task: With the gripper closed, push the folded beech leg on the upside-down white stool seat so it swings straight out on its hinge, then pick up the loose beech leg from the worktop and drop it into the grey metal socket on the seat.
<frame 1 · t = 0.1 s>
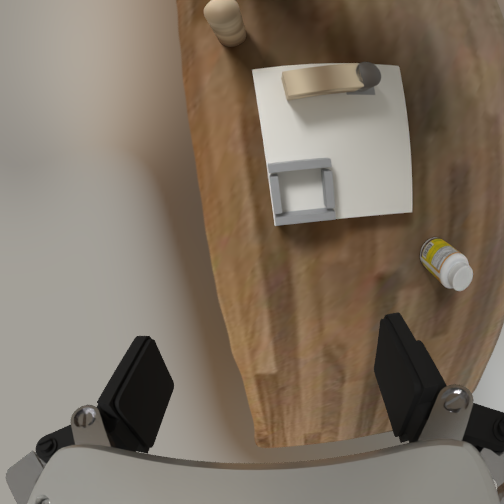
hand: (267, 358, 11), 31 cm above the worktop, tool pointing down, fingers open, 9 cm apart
loose leg: (232, 35, 31), on the worktop
supplement bottle: (431, 251, 41), on the worktop
folding leg: (331, 80, 28), point 5 cm above the worktop, hinge at -85.0°
stool seat: (336, 139, 36), on the worktop
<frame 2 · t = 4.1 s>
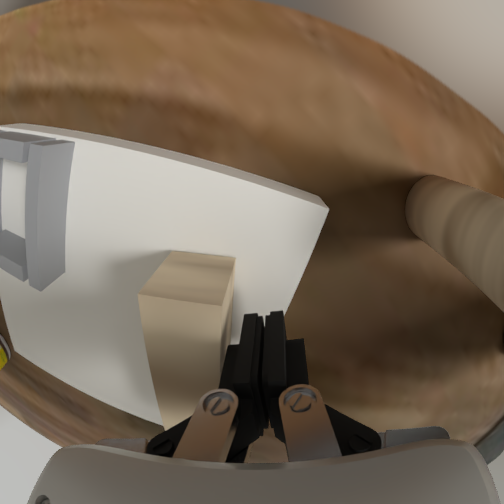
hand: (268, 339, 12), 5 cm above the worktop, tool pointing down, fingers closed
loose leg: (432, 208, 14), on the worktop
folding leg: (195, 374, 13), point 5 cm above the worktop, hinge at -77.5°, touching gripper
stool seat: (114, 290, 18), on the worktop
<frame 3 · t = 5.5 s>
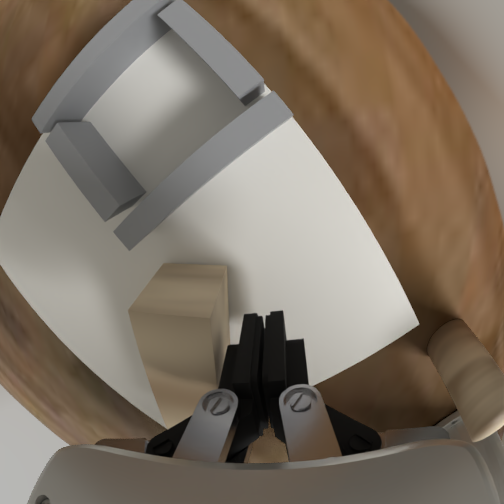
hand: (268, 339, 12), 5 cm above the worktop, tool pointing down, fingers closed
loose leg: (447, 339, 18), on the worktop
folding leg: (197, 383, 13), point 5 cm above the worktop, hinge at -38.6°, touching gripper
stool seat: (172, 264, 16), on the worktop
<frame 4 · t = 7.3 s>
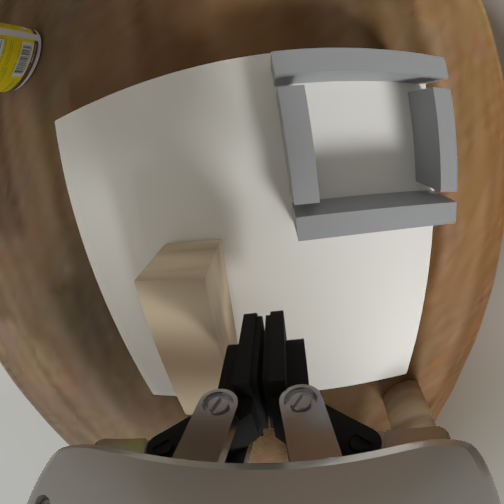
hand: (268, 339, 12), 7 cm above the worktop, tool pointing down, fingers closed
loose leg: (401, 392, 23), on the worktop
supplement bottle: (24, 60, 12), on the worktop
folding leg: (204, 354, 15), point 5 cm above the worktop, hinge at -3.4°
stool seat: (258, 246, 18), on the worktop
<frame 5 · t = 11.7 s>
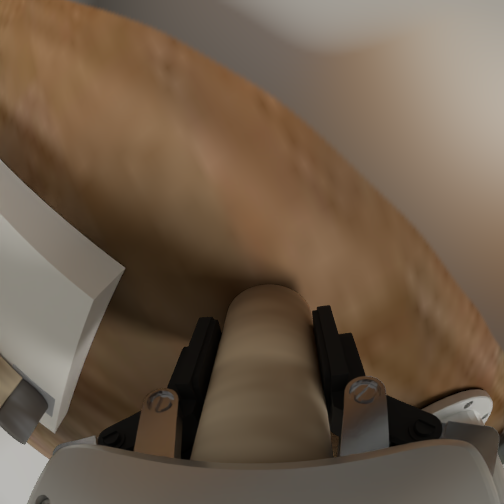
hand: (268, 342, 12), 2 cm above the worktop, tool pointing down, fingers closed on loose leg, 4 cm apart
loose leg: (269, 321, 13), on the worktop, touching gripper
when the fingers open (6 cm above the worktop, at t = 17.5 s): loose leg drops 1 cm, resting on stool seat.
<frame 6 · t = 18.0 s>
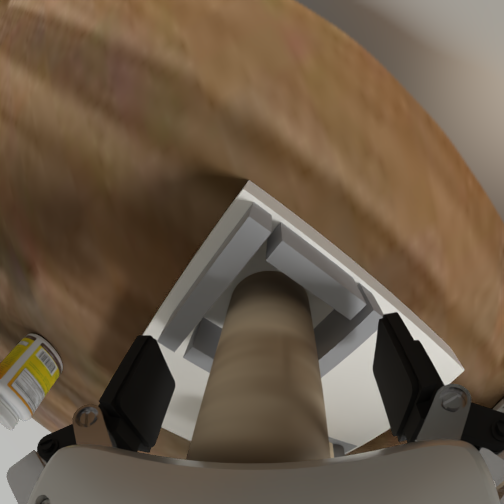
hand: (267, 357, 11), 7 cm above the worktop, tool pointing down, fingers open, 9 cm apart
loose leg: (269, 306, 14), point 3 cm above the worktop, touching stool seat
supplement bottle: (46, 351, 23), on the worktop
folding leg: (293, 460, 17), point 5 cm above the worktop, hinge at -3.4°
stool seat: (283, 375, 20), on the worktop
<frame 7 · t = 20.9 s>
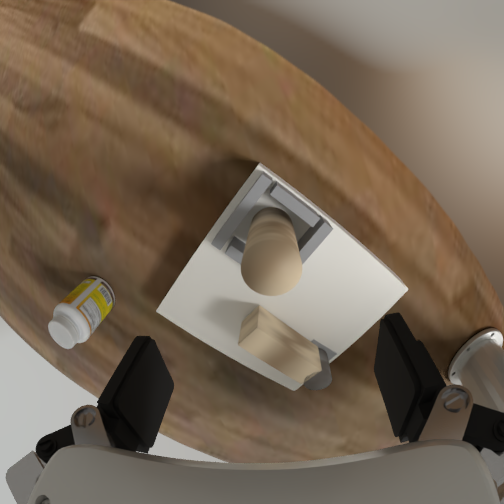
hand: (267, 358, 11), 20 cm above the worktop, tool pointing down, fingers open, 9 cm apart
loose leg: (271, 227, 27), point 3 cm above the worktop, touching stool seat
supplement bottle: (100, 292, 35), on the worktop
folding leg: (290, 352, 30), point 5 cm above the worktop, hinge at -3.4°
stool seat: (281, 290, 33), on the worktop
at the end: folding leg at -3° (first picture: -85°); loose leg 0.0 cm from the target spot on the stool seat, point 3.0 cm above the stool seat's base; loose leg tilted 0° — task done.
